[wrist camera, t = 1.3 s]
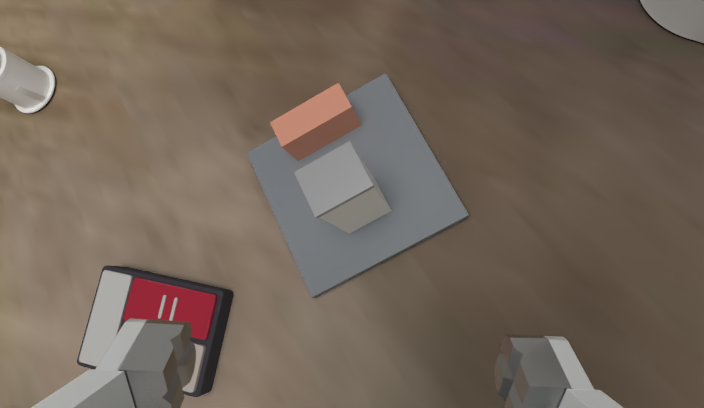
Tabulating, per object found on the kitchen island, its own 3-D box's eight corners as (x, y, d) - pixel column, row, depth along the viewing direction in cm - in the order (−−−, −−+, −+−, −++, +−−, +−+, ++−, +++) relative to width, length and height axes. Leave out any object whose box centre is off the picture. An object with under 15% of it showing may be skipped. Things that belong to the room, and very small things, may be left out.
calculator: (195, 400, 45) (69, 365, 48) (215, 390, 49) (98, 359, 52) (220, 291, 46) (97, 264, 49) (238, 290, 50) (123, 266, 53)
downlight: (67, 84, 60) (-8, 43, 51) (36, 125, 60) (-45, 92, 51) (37, 57, 63) (-40, 14, 54) (6, 97, 63) (-76, 60, 54)
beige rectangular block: (374, 176, 47) (349, 140, 35) (393, 211, 45) (373, 185, 34) (331, 200, 47) (293, 172, 36) (348, 235, 46) (315, 217, 35)
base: (387, 79, 50) (378, 49, 44) (468, 217, 45) (470, 205, 39) (252, 156, 52) (224, 138, 46) (315, 297, 47) (294, 298, 41)
